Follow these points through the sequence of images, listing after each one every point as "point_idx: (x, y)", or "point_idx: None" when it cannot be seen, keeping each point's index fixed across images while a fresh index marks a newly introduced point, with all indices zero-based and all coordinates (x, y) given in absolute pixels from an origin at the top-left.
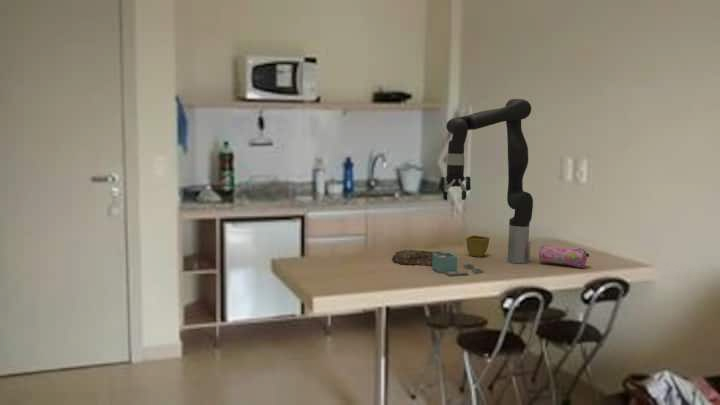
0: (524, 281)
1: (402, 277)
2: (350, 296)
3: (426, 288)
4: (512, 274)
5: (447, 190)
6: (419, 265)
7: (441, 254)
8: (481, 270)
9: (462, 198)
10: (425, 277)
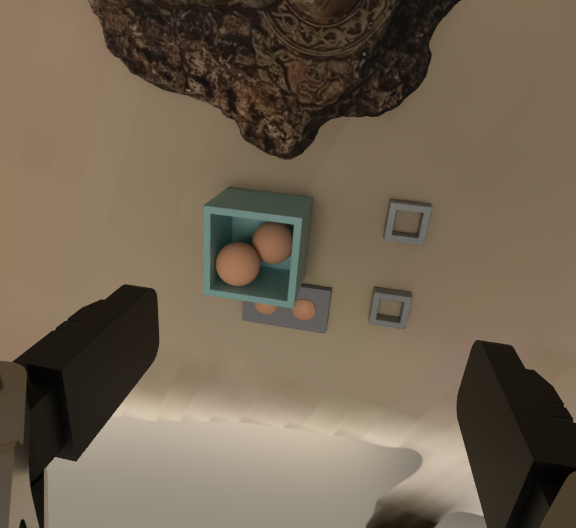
0: None
1: (72, 270)
2: None
3: None
4: None
5: (46, 500)
6: (198, 98)
7: (251, 217)
8: (398, 327)
9: (469, 384)
10: None
